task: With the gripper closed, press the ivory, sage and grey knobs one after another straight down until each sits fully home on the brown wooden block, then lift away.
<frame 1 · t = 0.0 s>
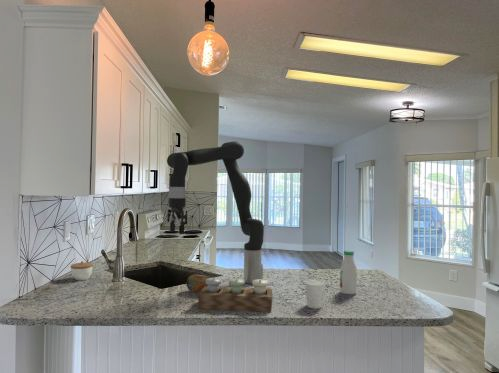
hand: (176, 233, 165), 29 cm above the worktop, tool pointing down, fingers open, 8 cm apart
grey knob: (213, 285, 156), point 8 cm above the worktop, slide at 3.0 cm
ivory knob: (260, 287, 154), point 8 cm above the worktop, slide at 3.0 cm
sage knob: (236, 286, 155), point 8 cm above the worktop, slide at 3.0 cm
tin: (200, 293, 173), on the worktop
brown wooden block: (236, 305, 155), on the worktop
milk bottle: (348, 293, 176), on the worktop
white cup: (314, 306, 156), on the worktop
lidded jar: (81, 279, 196), on the worktop
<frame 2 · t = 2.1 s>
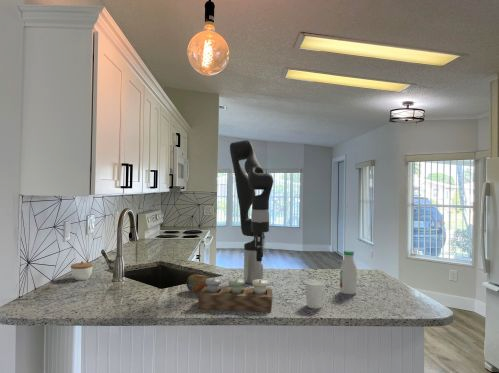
hand: (259, 259, 154), 20 cm above the worktop, tool pointing down, fingers open, 7 cm apart
nothing on the worktop moved.
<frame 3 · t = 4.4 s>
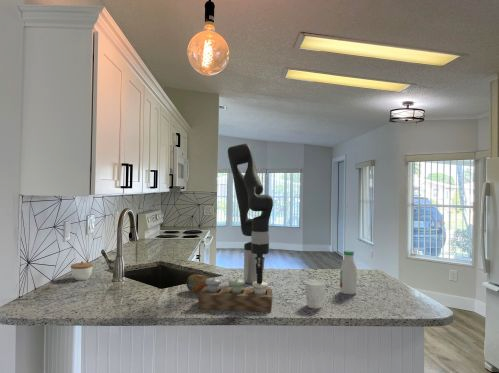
hand: (259, 282, 154), 10 cm above the worktop, tool pointing down, fingers closed
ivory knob: (260, 289, 154), point 7 cm above the worktop, slide at 2.2 cm, touching gripper
everything else where it was.
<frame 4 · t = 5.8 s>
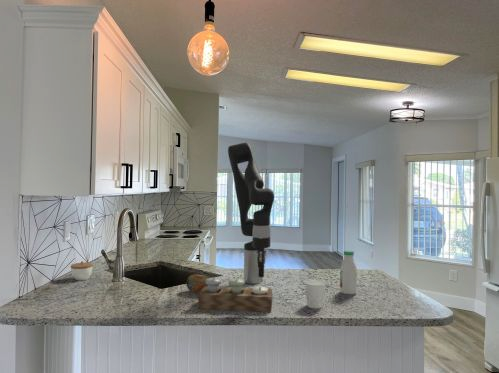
hand: (261, 276, 154), 13 cm above the worktop, tool pointing down, fingers closed
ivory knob: (259, 294, 154), point 5 cm above the worktop, slide at -0.1 cm
everything else where it was.
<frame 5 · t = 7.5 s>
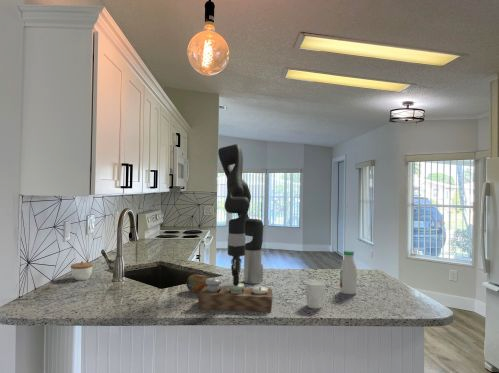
hand: (236, 284, 155), 9 cm above the worktop, tool pointing down, fingers closed
sage knob: (236, 290, 155), point 6 cm above the worktop, slide at 1.2 cm, touching gripper
everything else where it was.
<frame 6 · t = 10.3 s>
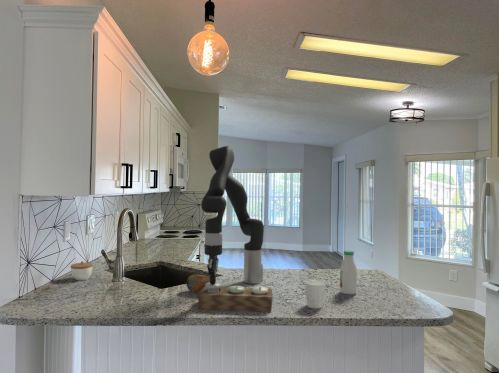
hand: (212, 283, 156), 9 cm above the worktop, tool pointing down, fingers closed
grey knob: (213, 289, 156), point 6 cm above the worktop, slide at 1.2 cm, touching gripper
sage knob: (236, 293, 155), point 5 cm above the worktop, slide at -0.1 cm
everything else where it was.
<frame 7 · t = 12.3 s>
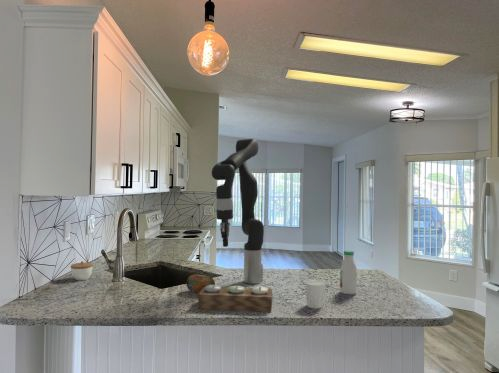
hand: (225, 246, 167), 23 cm above the worktop, tool pointing down, fingers closed
grey knob: (213, 292, 156), point 5 cm above the worktop, slide at -0.1 cm
everything else where it was.
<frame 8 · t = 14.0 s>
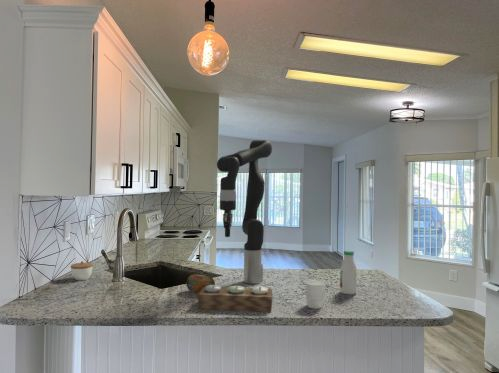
hand: (227, 236, 171), 27 cm above the worktop, tool pointing down, fingers closed
nothing on the worktop moved.
at the end: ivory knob slide at -0.1 cm; sage knob slide at -0.1 cm; grey knob slide at -0.1 cm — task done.
